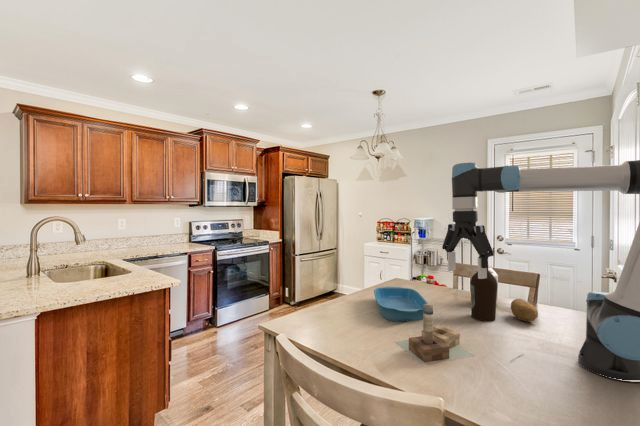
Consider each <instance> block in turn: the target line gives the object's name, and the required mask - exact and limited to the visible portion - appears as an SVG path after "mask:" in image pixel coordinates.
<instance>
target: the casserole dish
mask: <svg viewBox="0 0 640 426" xmlns="http://www.w3.org/2000/svg"><path fill="white" fill-rule="evenodd" d="M373 295H374V298H375V301H376V303H377V307H378V309H379V312H380V313H381V316H382V317H383V318H384V319H386V320H387V321H390V322H401V323H402V322H410V321H421V320H422V321H423V305H424V304H429V303H428V302H427V301H426V299H425V298H424V297H423V295H421V294H420V292H419V291H417V290H415V289H414V288H407V287H402V286H382V287H381V286H380V287H376V288H375V289H374V290H373Z"/></svg>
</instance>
